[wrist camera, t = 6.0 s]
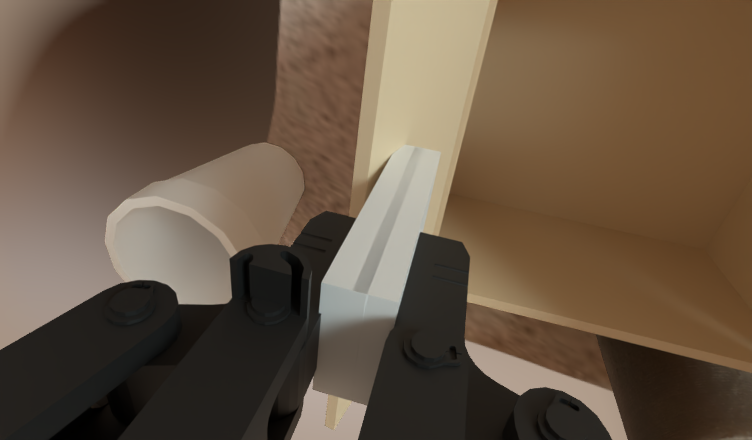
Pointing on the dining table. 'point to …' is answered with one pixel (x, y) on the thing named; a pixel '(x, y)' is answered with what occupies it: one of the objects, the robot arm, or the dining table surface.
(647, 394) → the pillar candle
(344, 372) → the robot arm
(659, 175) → the carton
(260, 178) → the foam cup
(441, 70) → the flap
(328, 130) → the dining table surface
